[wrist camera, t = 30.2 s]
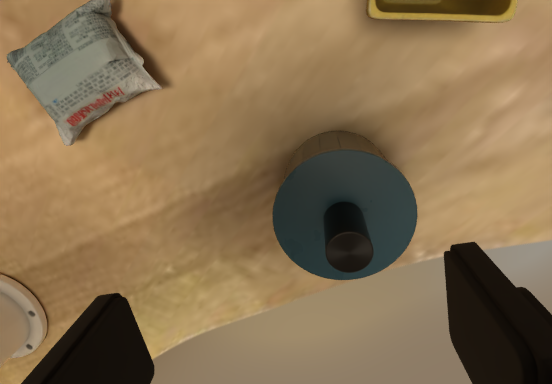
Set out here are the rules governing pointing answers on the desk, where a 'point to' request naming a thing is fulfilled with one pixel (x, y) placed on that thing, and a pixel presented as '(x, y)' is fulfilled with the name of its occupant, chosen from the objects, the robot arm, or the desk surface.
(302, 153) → the pot
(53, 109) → the packaged food
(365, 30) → the desk surface
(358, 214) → the pot lid
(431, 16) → the flower pot
